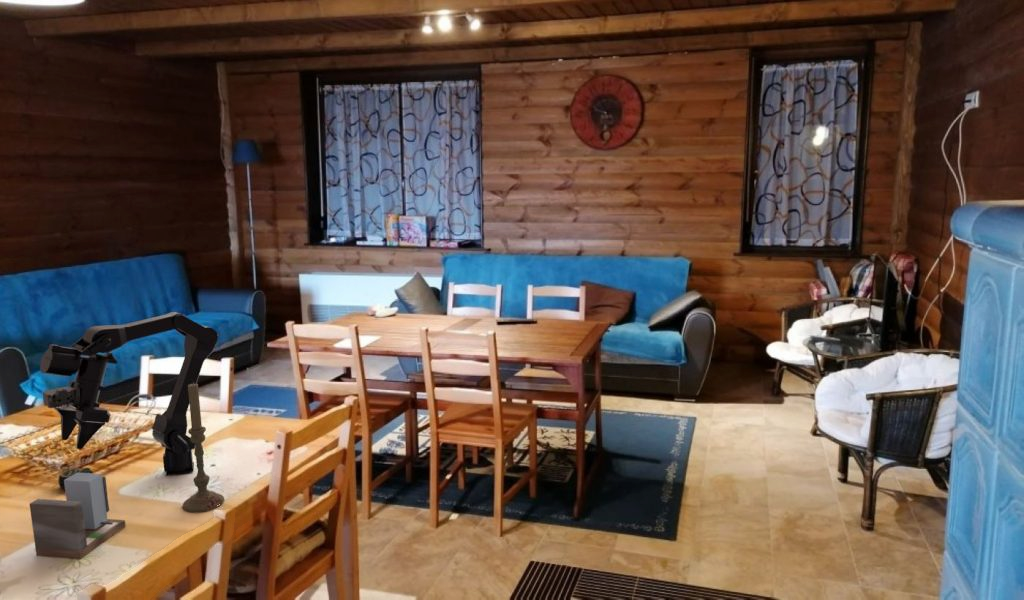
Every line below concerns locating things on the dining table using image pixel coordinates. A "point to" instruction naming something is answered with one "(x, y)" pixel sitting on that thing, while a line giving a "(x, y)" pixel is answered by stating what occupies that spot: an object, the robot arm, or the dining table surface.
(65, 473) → the tape measure
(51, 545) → the base
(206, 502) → the candlestick holder
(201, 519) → the dining table surface
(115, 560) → the dining table surface
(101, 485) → the block
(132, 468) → the dining table surface
